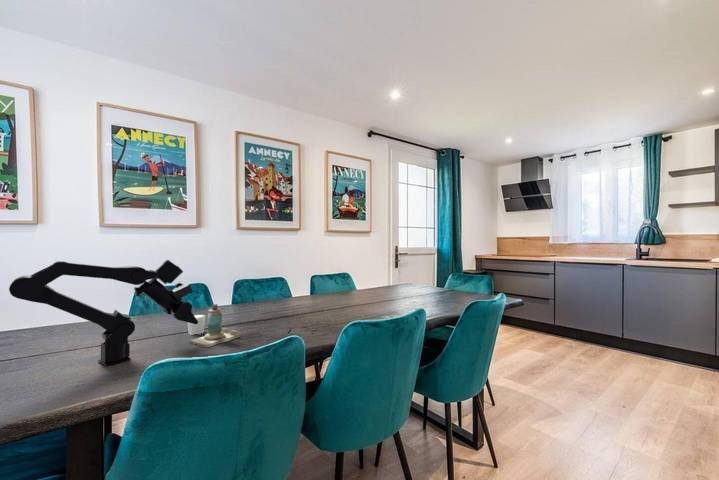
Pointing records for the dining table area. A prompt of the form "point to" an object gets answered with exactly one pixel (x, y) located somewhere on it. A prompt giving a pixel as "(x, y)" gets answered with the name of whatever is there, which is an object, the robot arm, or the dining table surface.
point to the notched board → (208, 343)
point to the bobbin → (214, 324)
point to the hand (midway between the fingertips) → (193, 320)
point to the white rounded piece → (197, 325)
